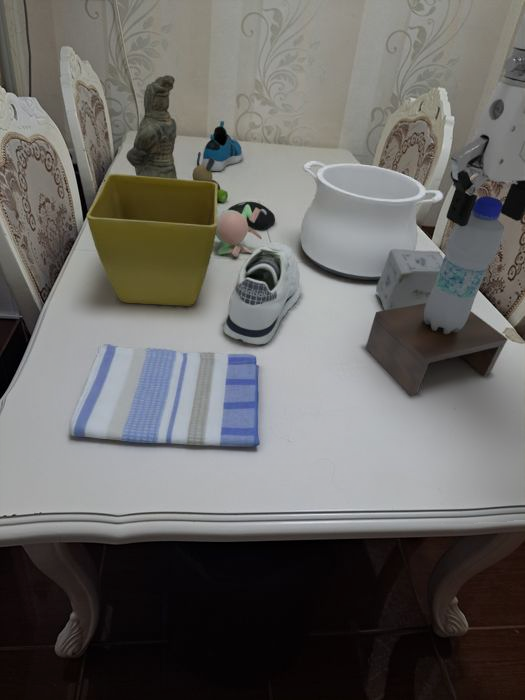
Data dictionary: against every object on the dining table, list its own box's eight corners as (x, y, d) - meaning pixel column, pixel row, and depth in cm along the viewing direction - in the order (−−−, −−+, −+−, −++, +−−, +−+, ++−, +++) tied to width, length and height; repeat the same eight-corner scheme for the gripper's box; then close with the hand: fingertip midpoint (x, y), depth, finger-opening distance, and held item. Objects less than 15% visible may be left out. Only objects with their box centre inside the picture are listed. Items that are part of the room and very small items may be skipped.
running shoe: (304, 271, 99) (314, 216, 92) (286, 355, 76) (297, 292, 69) (251, 262, 100) (257, 207, 93) (217, 343, 77) (221, 278, 70)
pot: (271, 260, 101) (281, 176, 91) (312, 223, 120) (325, 149, 109) (404, 302, 93) (432, 215, 83) (426, 255, 112) (452, 179, 101)
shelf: (489, 374, 78) (507, 338, 74) (410, 396, 72) (425, 358, 67) (440, 332, 86) (453, 298, 82) (365, 348, 80) (375, 311, 76)
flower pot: (212, 319, 82) (217, 225, 72) (96, 313, 80) (84, 216, 70) (213, 265, 97) (217, 181, 87) (116, 259, 95) (108, 173, 85)
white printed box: (386, 318, 88) (402, 267, 82) (373, 294, 95) (387, 245, 88) (437, 319, 90) (456, 269, 83) (421, 295, 96) (437, 247, 90)
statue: (152, 209, 116) (147, 66, 98) (186, 220, 113) (187, 74, 95) (122, 225, 108) (110, 71, 90) (157, 236, 105) (152, 80, 87)
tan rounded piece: (229, 201, 126) (232, 156, 119) (204, 208, 120) (206, 162, 113) (205, 190, 130) (206, 146, 123) (180, 196, 125) (180, 151, 118)
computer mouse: (235, 209, 122) (236, 193, 119) (278, 222, 118) (280, 206, 115) (219, 218, 116) (220, 202, 114) (263, 232, 112) (265, 216, 110)
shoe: (248, 154, 160) (251, 115, 153) (225, 174, 142) (227, 130, 134) (222, 149, 161) (224, 110, 154) (195, 168, 143) (196, 125, 136)
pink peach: (275, 222, 102) (249, 212, 108) (246, 197, 95) (220, 187, 101) (245, 271, 103) (221, 258, 109) (214, 250, 96) (190, 237, 102)
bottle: (469, 340, 72) (527, 210, 60) (425, 336, 72) (474, 204, 60) (455, 315, 77) (506, 191, 65) (414, 311, 77) (458, 186, 65)
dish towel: (101, 353, 72) (99, 337, 71) (259, 365, 74) (261, 350, 72) (63, 441, 59) (60, 425, 57) (258, 454, 60) (260, 438, 58)
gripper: (511, 75, 48) (453, 237, 58) (621, 81, 55) (551, 226, 65) (458, 62, 53) (414, 213, 64) (564, 69, 60) (508, 205, 70)
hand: (483, 219), depth 64 cm, fingers open, 9 cm apart
